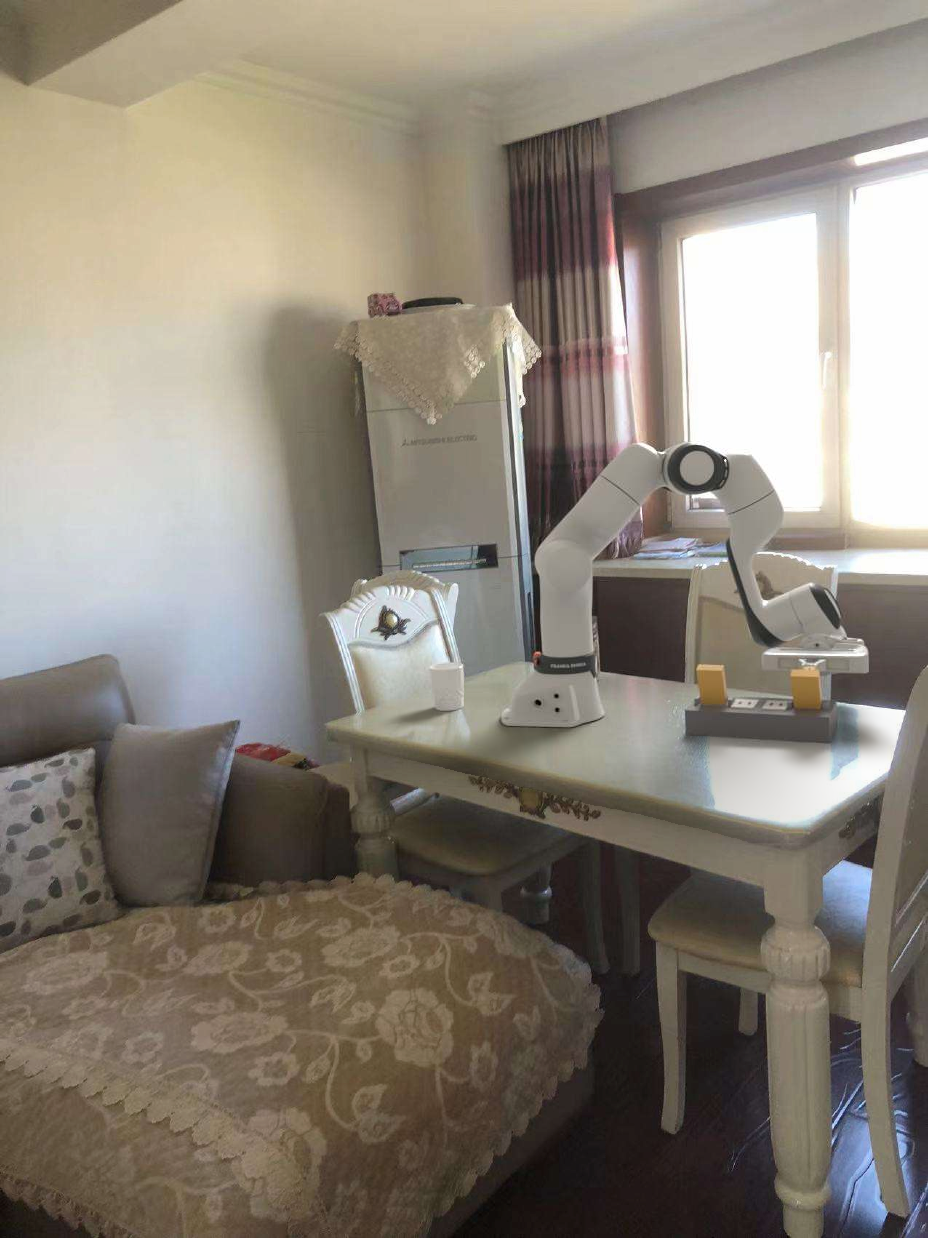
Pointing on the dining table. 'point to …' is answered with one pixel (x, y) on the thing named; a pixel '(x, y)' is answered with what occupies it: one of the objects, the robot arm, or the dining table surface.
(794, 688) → the switch
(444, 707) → the white cup
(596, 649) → the coffee box
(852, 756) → the dining table surface
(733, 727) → the power box
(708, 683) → the switch
